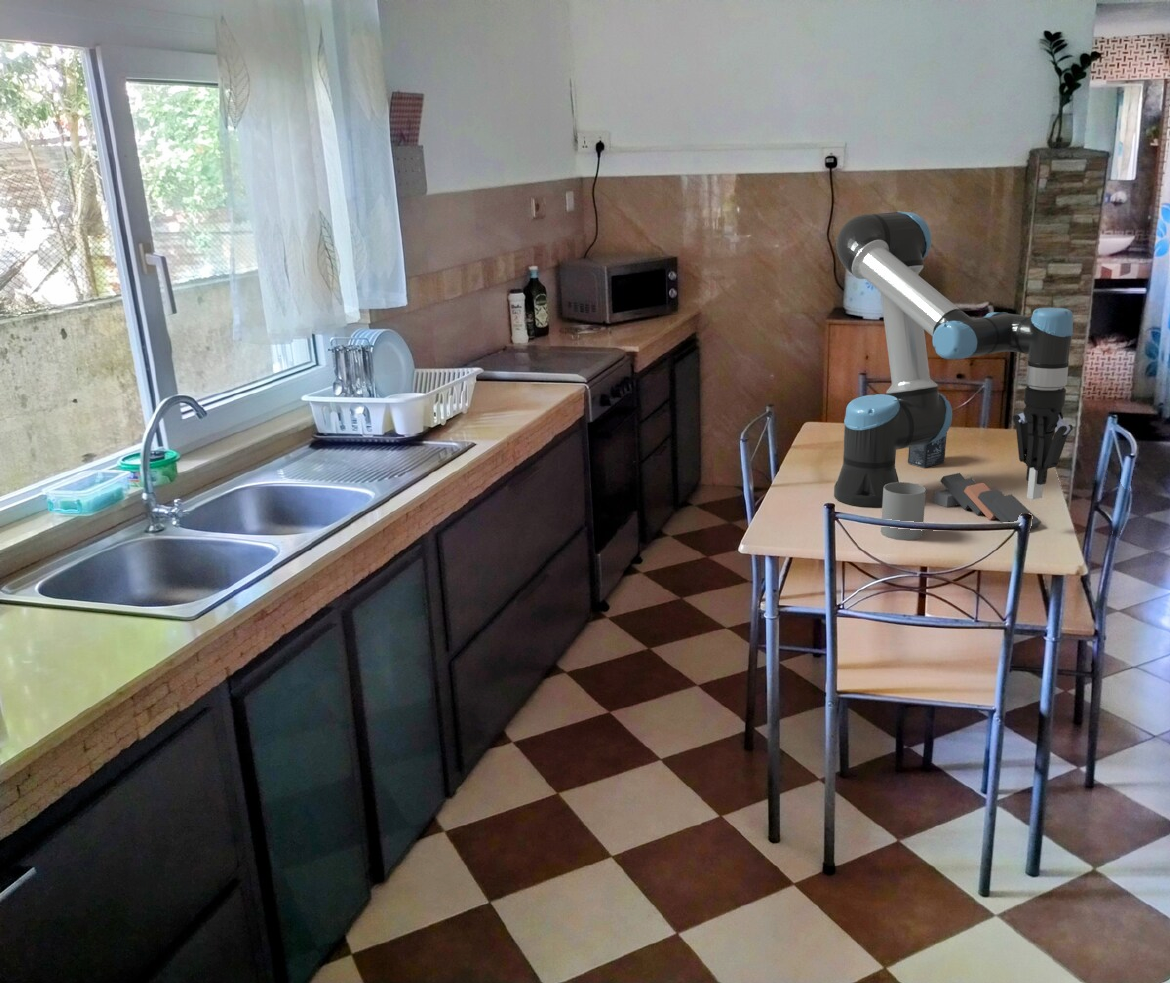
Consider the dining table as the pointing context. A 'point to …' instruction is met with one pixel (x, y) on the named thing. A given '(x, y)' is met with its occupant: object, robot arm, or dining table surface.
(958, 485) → the domino
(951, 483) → the domino
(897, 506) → the cup
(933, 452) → the box
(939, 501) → the block
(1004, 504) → the domino
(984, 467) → the dining table surface
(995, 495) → the domino
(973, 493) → the domino
